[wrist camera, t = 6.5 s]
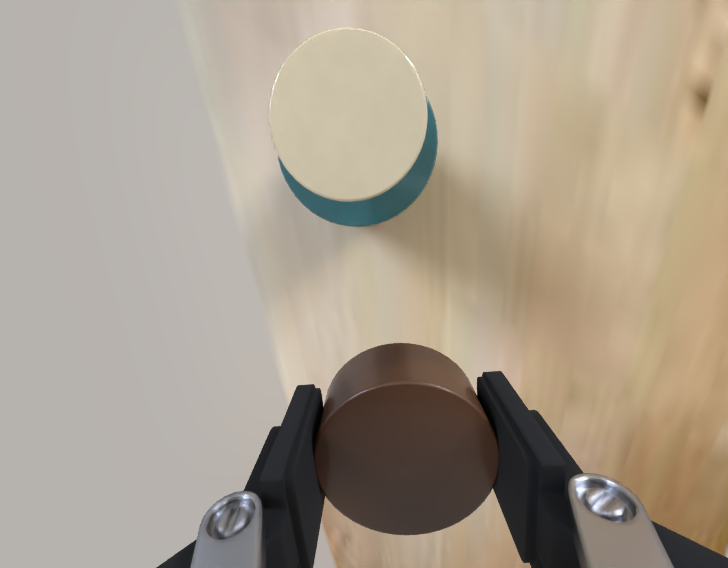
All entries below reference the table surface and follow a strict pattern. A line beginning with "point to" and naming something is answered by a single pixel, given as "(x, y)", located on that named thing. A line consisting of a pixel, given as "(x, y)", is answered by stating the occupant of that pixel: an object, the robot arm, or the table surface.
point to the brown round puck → (404, 442)
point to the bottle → (352, 127)
